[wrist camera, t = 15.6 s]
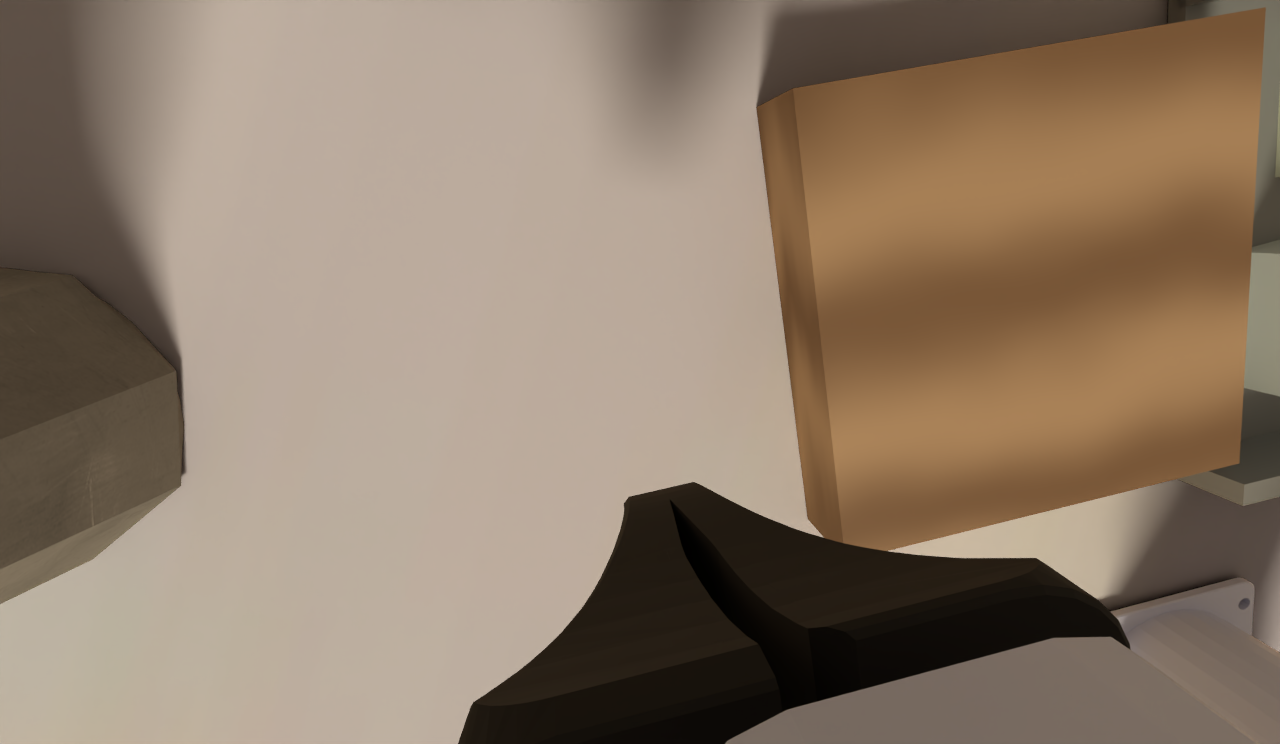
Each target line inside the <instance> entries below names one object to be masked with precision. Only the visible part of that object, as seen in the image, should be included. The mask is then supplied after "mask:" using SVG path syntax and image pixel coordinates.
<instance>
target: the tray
mask: <svg viewBox="0 0 1280 744" xmlns="http://www.w3.org/2000/svg"><path fill="white" fill-rule="evenodd" d="M1264 7H1266V13H1265V30H1264V48H1263V65H1262V82H1261V99H1260V116H1259V134H1258V151H1257V168H1256V185H1255V203H1254V220H1253V237H1252V247H1255V246H1258V245H1262V244H1266V243H1269V242H1273V241H1276V240H1280V177H1275V169H1276V151H1277V132H1278V113H1279V95H1280V0H1168V24H1171V23H1177V22H1183V21H1188V20H1194V19H1200V18H1206V17H1212V16H1218V15H1223V14H1229V13H1235V12H1241V11H1247V10H1253V9H1258V8H1264ZM1178 480H1180V481H1183V482H1185V483H1188V484H1190V485H1193V486H1195V487H1197V488H1200V489H1202V490H1205V491H1207V492H1210V493H1212V494H1214V495H1217V496H1219V497H1222V498H1224V499H1227V500H1229V501H1232V502H1234V503H1236V504H1239V505H1241V506H1246V505H1250V504H1254V503H1258V502H1262V501H1266V500H1269V499H1273V498H1277V497H1280V396H1276V395H1272V394H1268V393H1263V392H1259V391H1255V390H1251V389H1247V388H1244V392H1243V410H1242V427H1241V444H1240V461H1239V464H1235V465H1231V466H1227V467H1223V468H1219V469H1215V470H1211V471H1207V472H1203V473H1199V474H1195V475H1191V476H1186V477H1182V478H1178Z"/></svg>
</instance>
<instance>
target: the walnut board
mask: <svg viewBox="0 0 1280 744" xmlns="http://www.w3.org/2000/svg"><path fill="white" fill-rule="evenodd" d="M1265 13H1266V7H1264V8H1258V9H1253V10H1247V11H1241V12H1235V13H1229V14H1223V15H1218V16H1212V17H1206V18H1200V19H1194V20H1188V21H1183V22H1177V23H1171V24H1165V25H1159V26H1153V27H1148V28H1142V29H1136V30H1130V31H1124V32H1118V33H1113V34H1107V35H1101V36H1095V37H1089V38H1084V39H1078V40H1072V41H1066V42H1060V43H1054V44H1049V45H1043V46H1037V47H1031V48H1025V49H1019V50H1014V51H1008V52H1002V53H996V54H990V55H984V56H979V57H973V58H967V59H961V60H955V61H949V62H944V63H938V64H932V65H926V66H920V67H915V68H909V69H903V70H897V71H891V72H885V73H880V74H874V75H868V76H862V77H856V78H850V79H845V80H839V81H833V82H827V83H821V84H815V85H810V86H804V87H798V88H793V89H791V90H789V91H787V92H785V93H783V94H781V95H779V96H777V97H775V98H773V99H771V100H770V101H768V102H766V103H764V104H762V105H760V106H758V107H757V115H758V123H759V131H760V139H761V147H762V155H763V163H764V171H765V179H766V187H767V195H768V203H769V211H770V219H771V227H772V235H773V243H774V251H775V259H776V267H777V275H778V283H779V291H780V299H781V307H782V315H783V323H784V331H785V339H786V347H787V355H788V363H789V371H790V380H791V388H792V396H793V404H794V412H795V420H796V428H797V436H798V444H799V452H800V460H801V468H802V476H803V484H804V492H805V500H806V508H807V516H808V520H809V521H810V522H811V523H812V524H813V525H814V526H815V527H816V529H817V530H818V531H819V532H820V533H821V534H822V535H823V537H824V538H826V539H830V540H833V541H837V542H841V543H846V544H850V545H855V546H860V547H865V548H871V549H877V550H883V551H888V550H892V549H896V548H900V547H904V546H908V545H912V544H916V543H920V542H925V541H929V540H933V539H937V538H941V537H945V536H949V535H953V534H957V533H961V532H965V531H969V530H973V529H977V528H981V527H985V526H989V525H993V524H997V523H1001V522H1005V521H1009V520H1013V519H1017V518H1021V517H1025V516H1029V515H1033V514H1037V513H1041V512H1045V511H1049V510H1053V509H1058V508H1062V507H1066V506H1070V505H1074V504H1078V503H1082V502H1086V501H1090V500H1094V499H1098V498H1102V497H1106V496H1110V495H1114V494H1118V493H1122V492H1126V491H1130V490H1134V489H1138V488H1142V487H1146V486H1150V485H1154V484H1158V483H1162V482H1166V481H1170V480H1174V479H1178V478H1182V477H1186V476H1191V475H1195V474H1199V473H1203V472H1207V471H1211V470H1215V469H1219V468H1223V467H1227V466H1231V465H1235V464H1239V461H1240V444H1241V427H1242V410H1243V392H1244V375H1245V358H1246V341H1247V323H1248V306H1249V289H1250V272H1251V254H1252V237H1253V220H1254V203H1255V185H1256V168H1257V151H1258V134H1259V116H1260V99H1261V82H1262V65H1263V48H1264V30H1265Z"/></svg>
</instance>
